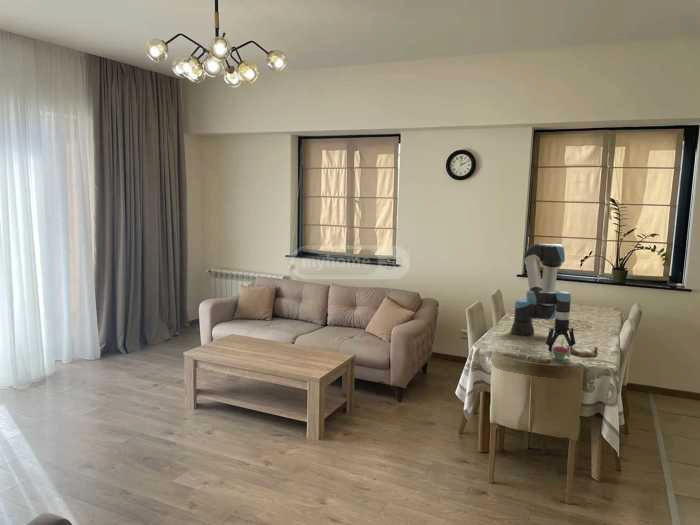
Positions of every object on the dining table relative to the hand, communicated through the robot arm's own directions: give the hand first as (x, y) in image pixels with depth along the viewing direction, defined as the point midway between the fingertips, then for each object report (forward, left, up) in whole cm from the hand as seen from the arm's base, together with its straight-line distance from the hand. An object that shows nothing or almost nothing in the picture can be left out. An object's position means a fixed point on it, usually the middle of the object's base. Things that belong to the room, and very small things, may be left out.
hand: (559, 356), depth 301 cm
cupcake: (0, 0, -1) cm, 1 cm away
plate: (+20, +9, -1) cm, 22 cm away
